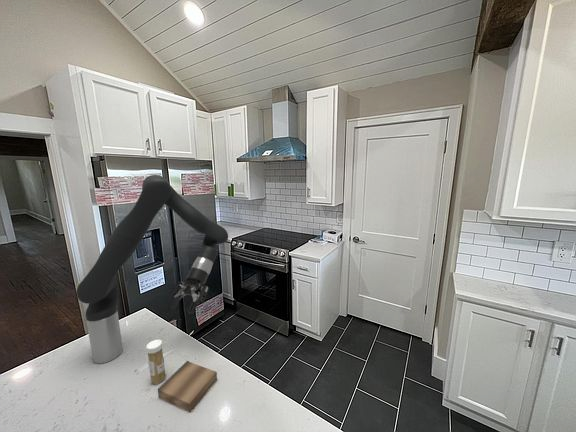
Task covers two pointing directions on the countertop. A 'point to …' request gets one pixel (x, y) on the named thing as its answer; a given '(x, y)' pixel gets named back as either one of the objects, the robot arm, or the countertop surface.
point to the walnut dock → (187, 385)
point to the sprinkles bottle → (156, 361)
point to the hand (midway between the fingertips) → (181, 310)
